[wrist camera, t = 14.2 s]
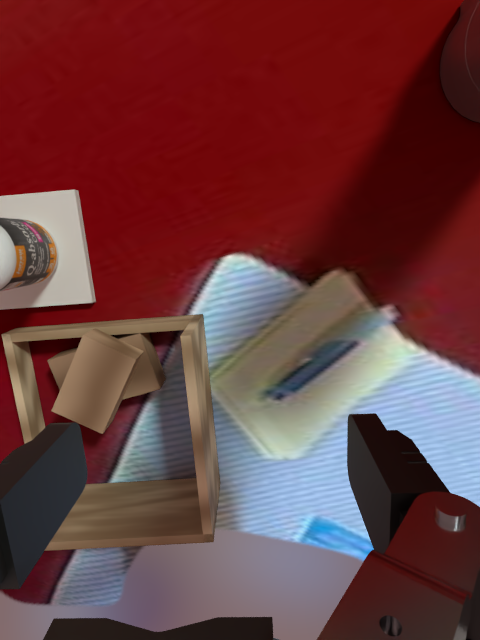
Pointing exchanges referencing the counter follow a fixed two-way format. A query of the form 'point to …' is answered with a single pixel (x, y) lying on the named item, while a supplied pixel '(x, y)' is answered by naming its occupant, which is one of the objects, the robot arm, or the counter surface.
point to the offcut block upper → (97, 380)
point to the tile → (73, 261)
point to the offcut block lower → (144, 376)
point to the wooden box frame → (142, 496)
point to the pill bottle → (25, 253)
